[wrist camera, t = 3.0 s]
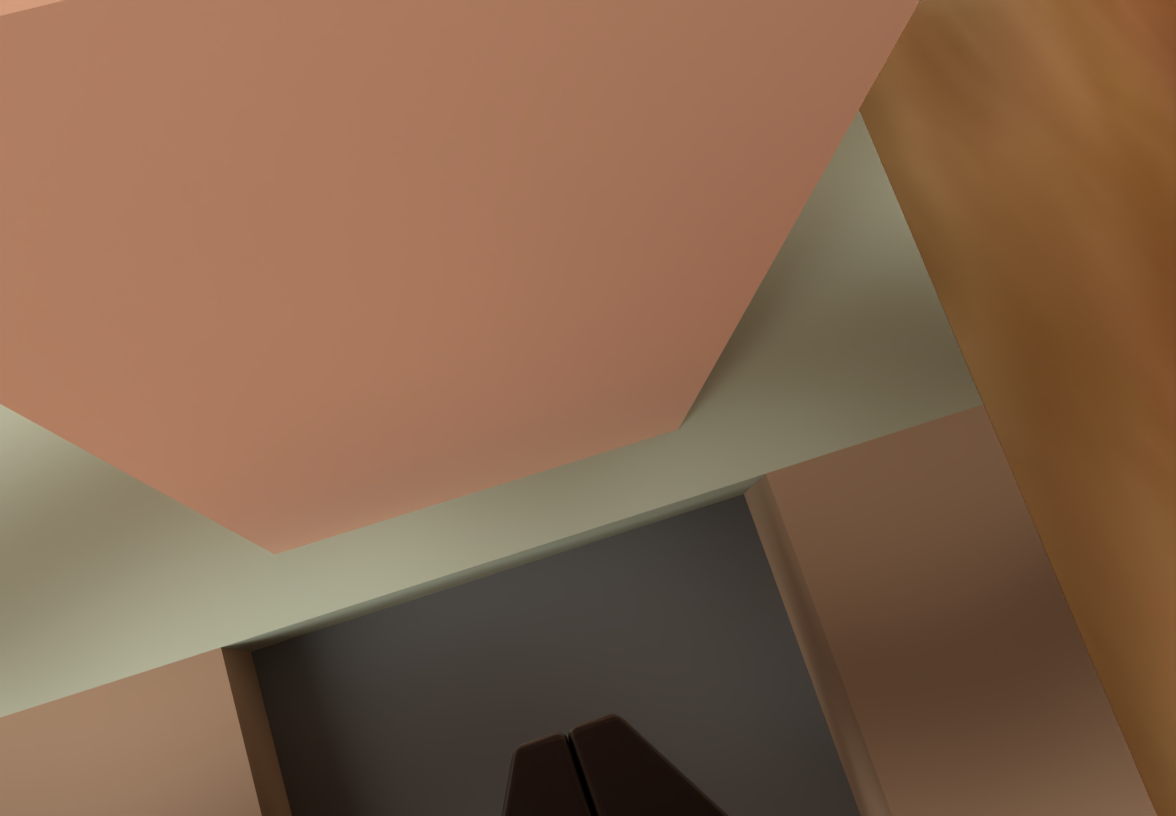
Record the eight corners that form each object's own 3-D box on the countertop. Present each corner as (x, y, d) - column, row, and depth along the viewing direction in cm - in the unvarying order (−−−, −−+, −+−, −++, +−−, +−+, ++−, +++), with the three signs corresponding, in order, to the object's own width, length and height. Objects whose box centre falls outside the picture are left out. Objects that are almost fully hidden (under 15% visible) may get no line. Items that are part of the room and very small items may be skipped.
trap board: (1180, 1031, 16) (1277, 1083, 14) (169, 1443, 14) (107, 1572, 12) (491, -654, 24) (487, -784, 22) (-226, -528, 22) (-306, -656, 20)
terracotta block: (678, 429, 16) (1055, -238, 5) (274, 554, 15) (-489, 135, 4) (534, 23, 18) (546, -1238, 6) (162, 119, 17) (-627, -1112, 5)
